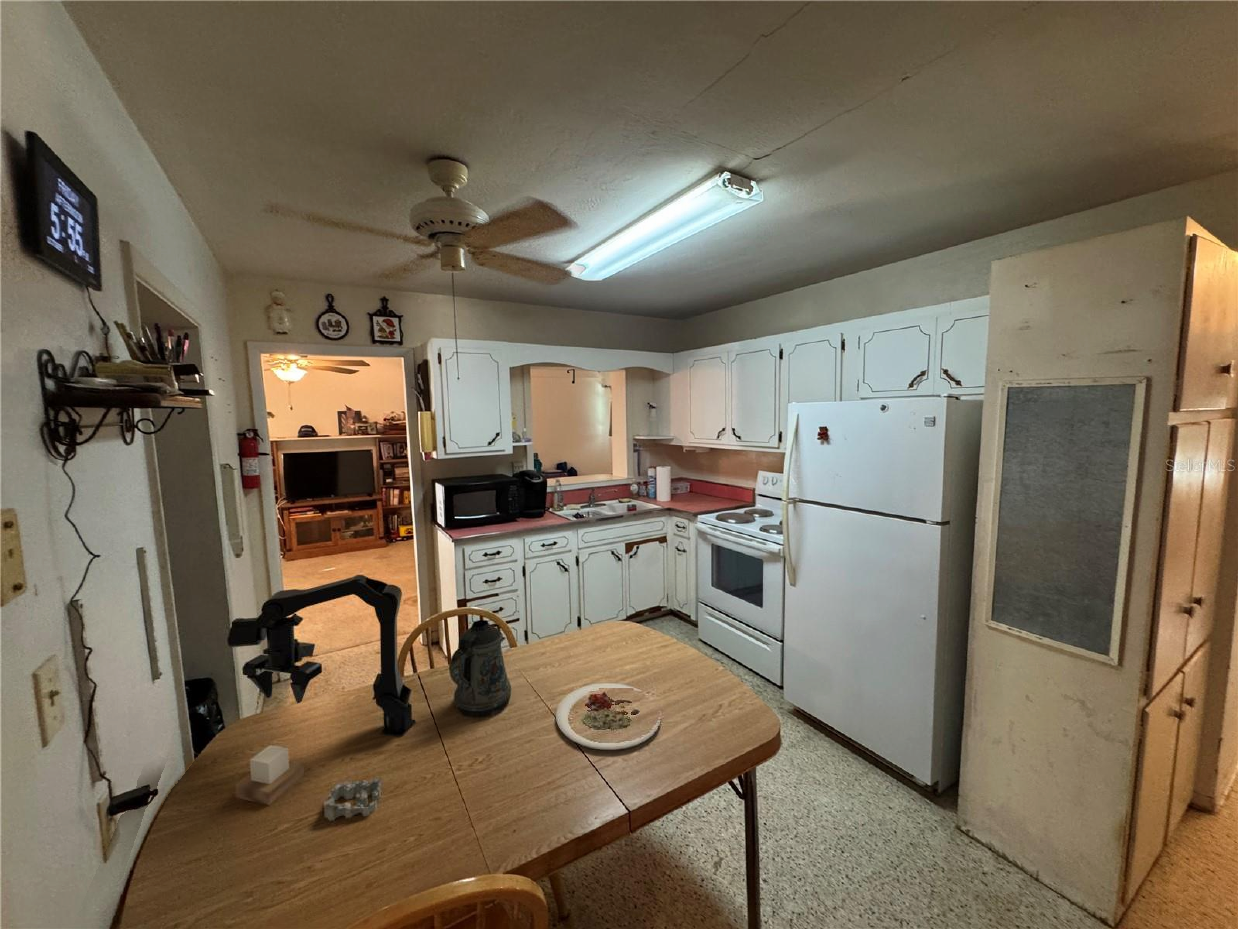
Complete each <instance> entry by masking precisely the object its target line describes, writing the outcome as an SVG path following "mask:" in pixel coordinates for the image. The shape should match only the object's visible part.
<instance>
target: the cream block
mask: <svg viewBox="0 0 1238 929" xmlns="http://www.w3.org/2000/svg"><path fill="white" fill-rule="evenodd" d="M289 758H290V757H289V748H287V747H281V746H279V745H271V744H269V745H268V746H267V747H266V748H263V750H261V751H260V752H258V753H257V754H256V755H255V756H253V757H252V758H251V759H249V764H250V765H249V767H250V774H251V780H252V781H257V782H262V783H267V784H271V783H272V782H273V781H274V780H276V779H277V778H278V777H279V776H280V775H282V774H283V773H284V772H285V771H286V770H288V769H289V761H290V759H289Z"/></svg>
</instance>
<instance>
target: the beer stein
mask: <svg viewBox="0 0 1238 929" xmlns="http://www.w3.org/2000/svg"><path fill="white" fill-rule="evenodd" d="M503 638H504V636H503V633H502V631H500V629H499V628H497V627H495V626H493V625H491V624H490V623H489V621H488V620H485V619H478V620H476V621H474V622H472V624H471V627H469V628H467V630H465V631H464V632H463V634H462V635H461V636H460V637H459V640H458V645H457V649H456V650H455V651H454V652H453V654H452V655H451V658H450V662H449V666H448V671H449V676H450V678H451V680H452V682H453V683H454V684H456V689H455V691H454V693H453V699H454V704H455V708H456V710H457V712H458V713H460V715H462V716H463V717H467V718H471V719H472V718H475V719H478V718H479V719H481V718H482V719H483V718H486V717H491V716H494V715H496V714H498V713H500V712H502V711H503V710H504V709H505V708H506V707H507V706H508V705H509V702H510V699H511V695H512V685H511V683H510V680H509V678H508V675H507V671H506V666H505V662H504V656H503V651H502V645H501V644H502V643H503V642H502V641H503Z"/></svg>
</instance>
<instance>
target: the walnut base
mask: <svg viewBox="0 0 1238 929" xmlns="http://www.w3.org/2000/svg"><path fill="white" fill-rule="evenodd" d="M304 768H305V767H304V763H301V762H297V761H291V760H289V769H288V770H286V771H285V772H284V773H283V774H282V775H280V776H279V777H278V778H277V779H276V780H274V781H273V782H272V783H271V784H267V783H262V782H257V781H252V780H251V773H249V774H248V775H247V776H246V777H244V778H243V779H242V780H240V781H238V783H237V784H235V798H237V799H241V800H246V801H250V802H255V803H258V804H263V805H267V806H271V805H272V804H273V803H274V802H275V801H276V800H277V799H279V798H280V797H281V796H282V795H283V794H284V793H285V792H287V791H288V790H290V789H291V787H292V786H294V785H295V784H296V783H297V782H298V781H299V780H300V779H302V778H303V777H304V776H305V773H304V772H305V770H304Z"/></svg>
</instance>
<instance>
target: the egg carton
mask: <svg viewBox="0 0 1238 929" xmlns="http://www.w3.org/2000/svg"><path fill="white" fill-rule="evenodd" d="M382 781H383V780H382V777H379V778H377V779H376V778H375V779H373V780H369V779H368V781H367V780H365V779H362V780H360V781H342V782H340V783H337V784H336V785H335V786H334V787H333V788H332V790H331V791H330V793H329V795H328V796H327V798H326V799H327V800H326V801H324V802H323V803H322V807H324V811H323V812H324V818H326V819H328V821H330V822H332V821H335V820H336V819H337V818H338V817H340V816H344V817H345V819H350V818H352V817H353V816H355V815H357V814H362V817H367V816H369V815H370V814H371V813H372V812H375V811H377V808H378V807H377V806H378V805H377V803H378V802H377V801H378V800H379V799H380V798H381V795H382V793H381V791H382V790H381V789H382V788H381V787H382ZM370 795H371V799H372V801H371V802H370V803H369V802H368V801H369V800H368V797H369V796H370ZM340 797H343V798H344V799H345V800H350V799H354V798H355V804H354V806H352V804H351V803H350V802H344V803H338V804H337V803H335V801H337V800H338V799H339V798H340ZM351 806H352V807H351Z"/></svg>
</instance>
